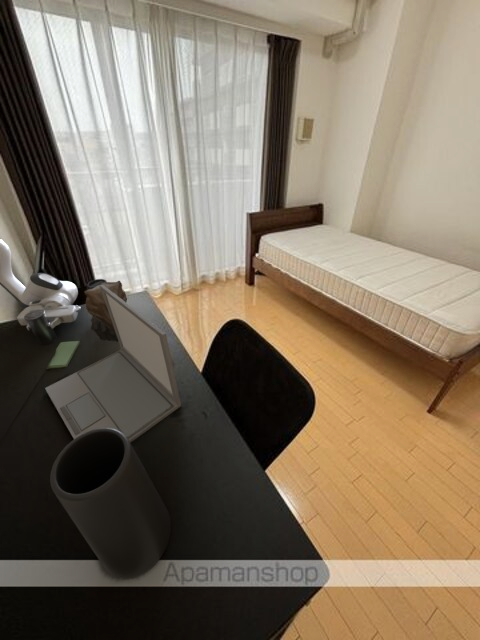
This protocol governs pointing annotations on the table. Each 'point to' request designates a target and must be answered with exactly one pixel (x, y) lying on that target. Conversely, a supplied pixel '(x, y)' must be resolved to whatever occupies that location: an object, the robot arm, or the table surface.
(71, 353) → the rag
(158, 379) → the laptop
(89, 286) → the coffee cup
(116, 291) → the owl
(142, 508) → the vase
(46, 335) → the can
